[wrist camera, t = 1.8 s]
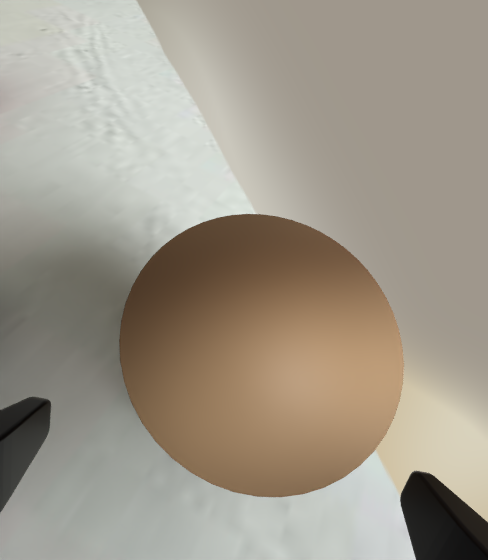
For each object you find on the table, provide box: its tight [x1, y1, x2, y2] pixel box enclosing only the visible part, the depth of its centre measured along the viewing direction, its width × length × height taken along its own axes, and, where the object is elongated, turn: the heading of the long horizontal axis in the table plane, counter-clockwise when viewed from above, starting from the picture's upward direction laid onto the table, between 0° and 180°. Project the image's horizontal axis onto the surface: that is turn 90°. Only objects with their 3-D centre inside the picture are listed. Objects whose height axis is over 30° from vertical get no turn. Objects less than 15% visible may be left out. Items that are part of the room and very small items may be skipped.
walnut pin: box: [119, 214, 404, 497], centre depth 12 cm, size 6×6×13 cm
